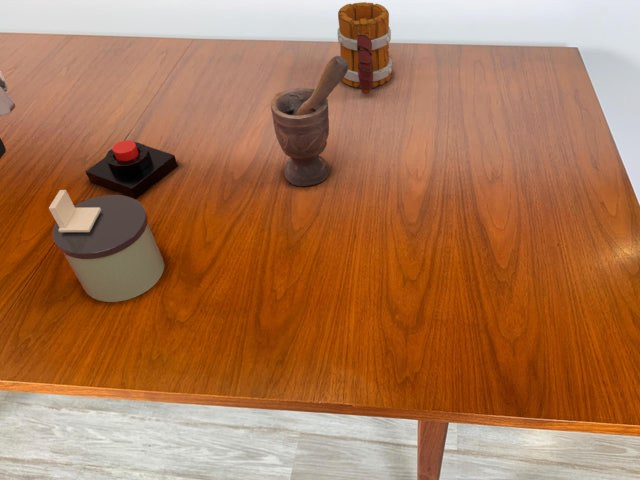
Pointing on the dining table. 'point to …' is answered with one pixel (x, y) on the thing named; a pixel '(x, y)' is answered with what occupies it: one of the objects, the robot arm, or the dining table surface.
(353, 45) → the mug
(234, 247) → the dining table surface
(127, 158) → the button
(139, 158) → the button block
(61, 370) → the dining table surface
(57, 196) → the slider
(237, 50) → the dining table surface
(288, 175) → the mortar and pestle
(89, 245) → the grey green round canister
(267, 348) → the dining table surface
